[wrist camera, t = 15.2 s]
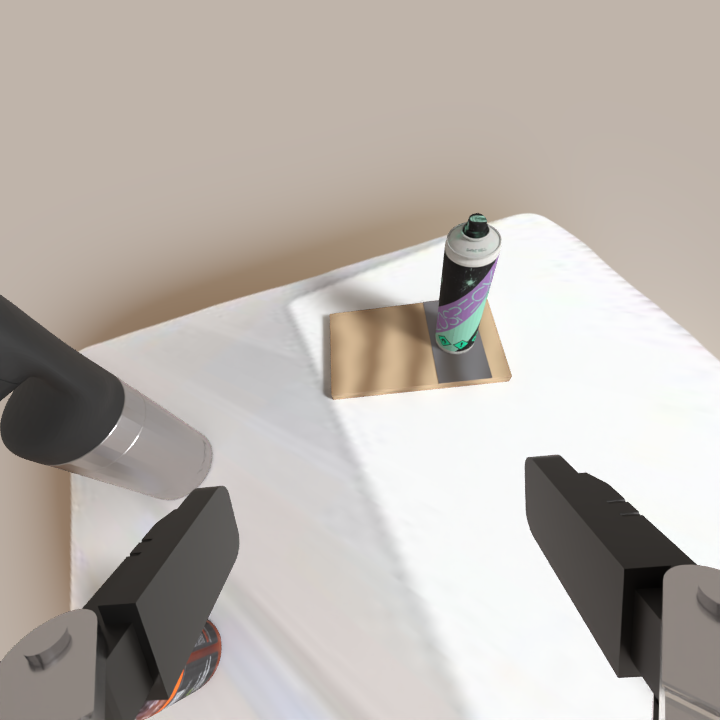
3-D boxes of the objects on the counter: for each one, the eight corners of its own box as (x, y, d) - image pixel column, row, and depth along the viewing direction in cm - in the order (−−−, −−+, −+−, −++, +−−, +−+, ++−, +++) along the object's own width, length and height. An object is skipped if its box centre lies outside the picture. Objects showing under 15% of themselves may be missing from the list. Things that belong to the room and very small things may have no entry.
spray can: (427, 335, 51) (436, 217, 34) (456, 316, 52) (478, 192, 35) (453, 361, 49) (476, 247, 32) (483, 340, 50) (521, 219, 33)
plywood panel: (333, 399, 50) (331, 394, 48) (331, 319, 57) (329, 313, 56) (509, 381, 48) (511, 375, 47) (484, 301, 55) (486, 294, 54)
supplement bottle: (183, 611, 39) (108, 624, 29) (232, 625, 38) (171, 643, 28) (157, 682, 36) (65, 722, 26) (210, 699, 35) (134, 748, 25)
